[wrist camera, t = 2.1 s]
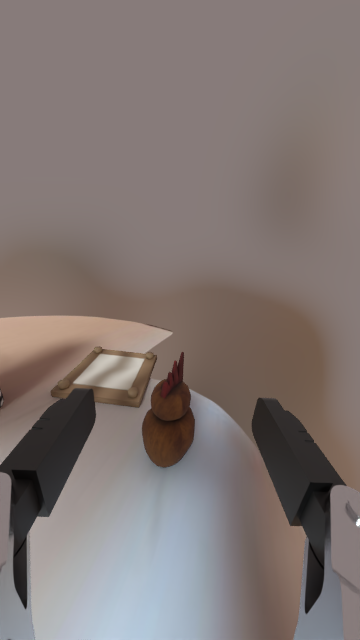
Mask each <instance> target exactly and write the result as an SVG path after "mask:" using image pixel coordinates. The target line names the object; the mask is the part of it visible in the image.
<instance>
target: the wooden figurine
mask: <svg viewBox="0 0 360 640" xmlns="http://www.w3.org/2000/svg"><path fill="white" fill-rule="evenodd" d="M183 362H184V353H183V352H182V353H181V356H180V360H179V363H178V367H177V361H174V365H173V369H172V373H171V372H169V373H168V378H167V379H165V380H162V381H161V382H159V383H158V384H157V385H156V387H155V388H154V390H153V393H152V395H151V407H152V408H151V409H150V410H149V411H148V412H147V414H146V416H145V418H144V421H143V425H142V435H143V441H144V446H145V450H146V452H147V454H148V456H149V458H150V459H151V461H152V462H153V463H155V464H156V465H157V466H160V467H169V466H172V465H174V464H176V463H177V462H178V461H179V460H180V459H181V458H182V457H183V456H184V455H185V453H186V452H187V450H188V449H189V447H190V446H191V444H192V442H193V438H194V427H195V419H194V416H193V413H192V411H191V408H190V407H189V406H190V400H191V394H190V391H189V388H188V386H187V385H186V384H185V383H184V382H183Z"/></svg>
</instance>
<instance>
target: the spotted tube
mask: <svg viewBox="0 0 360 640" xmlns="http://www.w3.org/2000/svg"><path fill="white" fill-rule="evenodd" d="M3 401H4V399H3V396H2V392H1V389H0V407H1V406H2V404H3Z"/></svg>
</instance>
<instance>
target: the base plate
mask: <svg viewBox="0 0 360 640" xmlns="http://www.w3.org/2000/svg"><path fill="white" fill-rule="evenodd" d="M156 360H157V355H153V353H152V352H148V353H146V354H141V353H132V352H123V351H115V350H106V349H102V347H95V348H94V350H93V351H92V352H91V353H90V354H89V355H88V356H87V357H86V358H85V359H84V360H83V361H82V362H81V363H80V364H79V365H78V366H77V367H76V368H74V369H73V370H72V371H71V372H70V373H69V374H68V375H67V376H66V377H65V378H64V379H63V380H60V381H59V382H58V385H57V386H56V387H54V388H53V389H52V390H51V395H52V397H59V398H67V397H68V395H69V394H70V393H71V392H72V390H73V389H75V388H87V389H93V392H94V401H95V402H99V403H107V404H115V405H123V406H131V407H139V406H140V403H141V400H142V398H143V395H144V392H145V390H146V387H147V384H148V381H149V379H150V376H151V373H152V371H153V368H154V365H155V362H156Z"/></svg>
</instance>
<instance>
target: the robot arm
mask: <svg viewBox="0 0 360 640" xmlns="http://www.w3.org/2000/svg"><path fill="white" fill-rule="evenodd" d="M95 418H96V411H95V401H94V392H93V389H87V388H75V389H73V390H72V392H71V393H70V394H69V395H68V397H67V398H66V399H60V400H59V401H57V402H56V403H54V404H53V405H52V406H50V407H49V408H48V409H47V410H46V411H45V413H44V414H43V415H42V416H41V417H40V419H39V420H38V421H37V422H36V423H35V424H34V426H33V427H32V429H31V430H29V432H28V433H27V434H26V435H25V436H24V437H23V439H22V440H21V441H20V442H19V443H18V445H17V446H16V447H15V448H14V449H13V451H12V452H11V453H10V454H9V455H8V456H7V458H6V459H5V460H4V461H3V462H2V464H1V465H0V640H35V633H34V627H33V621H32V611H31V573H30V533H29V530H30V528H31V527H32V525H33V523H34V521H35V519H36V517H37V516H39V517H49V516H50V514H51V512H52V510H53V508H54V505H55V503H56V501H57V499H58V497H59V495H60V493H61V491H62V489H63V487H64V485H65V483H66V481H67V479H68V477H69V475H70V473H71V471H72V469H73V467H74V465H75V463H76V461H77V459H78V457H79V455H80V453H81V451H82V449H83V447H84V444H85V442H86V440H87V438H88V436H89V434H90V432H91V430H92V428H93V426H94V423H95ZM252 432H253V435H254V438H255V440H256V443H257V445H258V448H259V450H260V453H261V455H262V458H263V460H264V462H265V465H266V467H267V470H268V472H269V475H270V477H271V480H272V482H273V484H274V487H275V489H276V492H277V494H278V497H279V499H280V502H281V504H282V506H283V509H284V511H285V514H286V516H287V519H288V521H289V524H290V526H303V528H304V531H305V533H306V535H307V537H306V539H305V548H304V561H303V573H302V586H301V599H300V611H299V618H298V623H297V627H296V631H295V635H294V639H293V640H360V492H358V491H357V490H355V489H353V488H350V487H348V486H346V484H345V483H344V482H343V480H342V479H341V478H340V476H339V475H338V474H337V472H336V471H335V469H334V468H333V466H332V465H331V464H330V462H329V461H328V460H327V458H326V457H325V455H324V454H323V453H322V451H321V450H320V449H319V447H318V446H317V444H316V443H314V440H313V439H312V437H311V436H310V435H309V434H308V433H307V430H306V429H305V428H304V426H303V425H302V424H301V422H300V421H299V420H298V419H297V418H296V417H295V416H294V415H292V414H291V413H290V412H289V411H284V409H283V408H282V406H281V405H280V403H279V402H278V400H276V399H274V398H259V399H258V400H257V404H256V408H255V411H254V415H253V419H252Z"/></svg>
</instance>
